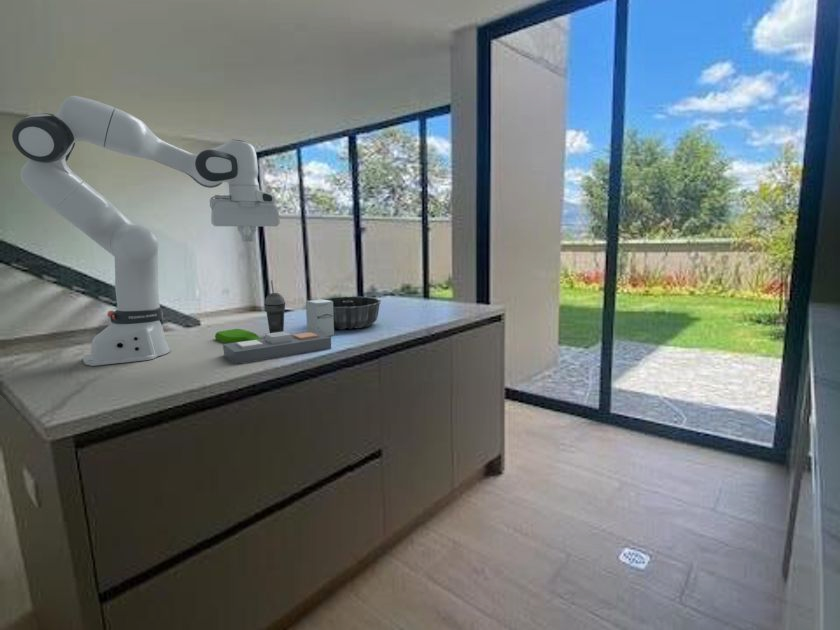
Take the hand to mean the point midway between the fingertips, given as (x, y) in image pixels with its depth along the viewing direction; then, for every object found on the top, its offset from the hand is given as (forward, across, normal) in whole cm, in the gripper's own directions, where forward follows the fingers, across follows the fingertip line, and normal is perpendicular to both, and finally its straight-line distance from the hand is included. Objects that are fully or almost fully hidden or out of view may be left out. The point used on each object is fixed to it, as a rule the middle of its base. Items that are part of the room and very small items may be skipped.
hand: (247, 241), depth 148 cm
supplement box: (+34, +25, +3) cm, 43 cm away
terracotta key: (+33, +13, -11) cm, 37 cm away
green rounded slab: (+35, 0, +9) cm, 36 cm away
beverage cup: (+34, +12, +12) cm, 38 cm away
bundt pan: (+34, +42, +13) cm, 56 cm away
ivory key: (+33, -5, -11) cm, 35 cm away
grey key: (+32, +4, -11) cm, 34 cm away
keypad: (+34, +4, -11) cm, 36 cm away
